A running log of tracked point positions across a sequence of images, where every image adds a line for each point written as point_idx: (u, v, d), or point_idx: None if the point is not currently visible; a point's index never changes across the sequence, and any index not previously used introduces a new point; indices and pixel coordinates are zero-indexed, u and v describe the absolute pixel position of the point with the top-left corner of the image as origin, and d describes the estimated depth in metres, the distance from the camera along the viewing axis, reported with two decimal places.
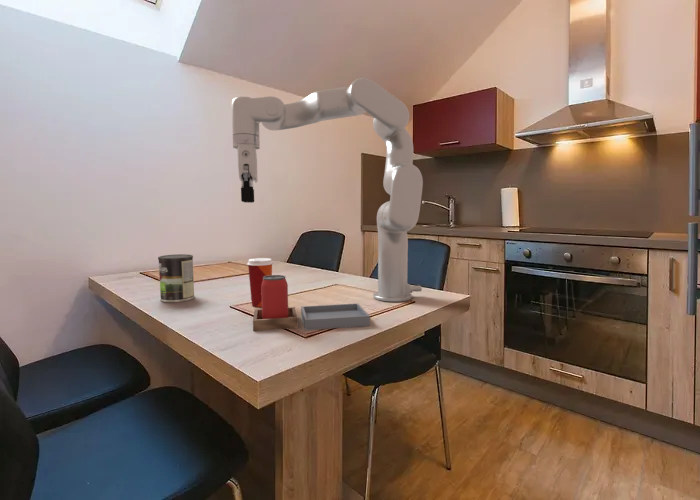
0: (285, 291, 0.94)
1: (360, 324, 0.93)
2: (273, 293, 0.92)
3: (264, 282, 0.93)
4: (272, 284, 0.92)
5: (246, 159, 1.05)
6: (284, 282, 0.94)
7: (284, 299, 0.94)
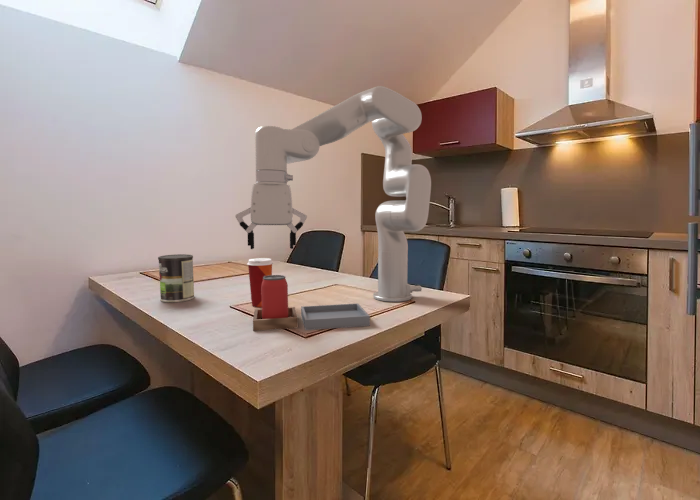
0: (285, 291, 0.94)
1: (360, 324, 0.93)
2: (273, 293, 0.92)
3: (264, 282, 0.93)
4: (272, 284, 0.92)
5: None
6: (284, 282, 0.94)
7: (284, 299, 0.94)
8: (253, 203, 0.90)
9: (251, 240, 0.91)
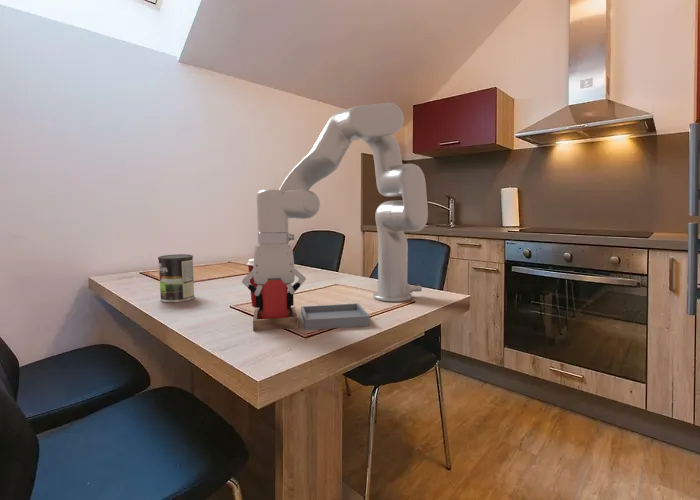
0: (285, 291, 0.94)
1: (360, 324, 0.93)
2: (273, 293, 0.92)
3: None
4: (272, 284, 0.92)
5: None
6: None
7: (284, 299, 0.94)
8: (255, 264, 0.92)
9: (259, 303, 0.93)
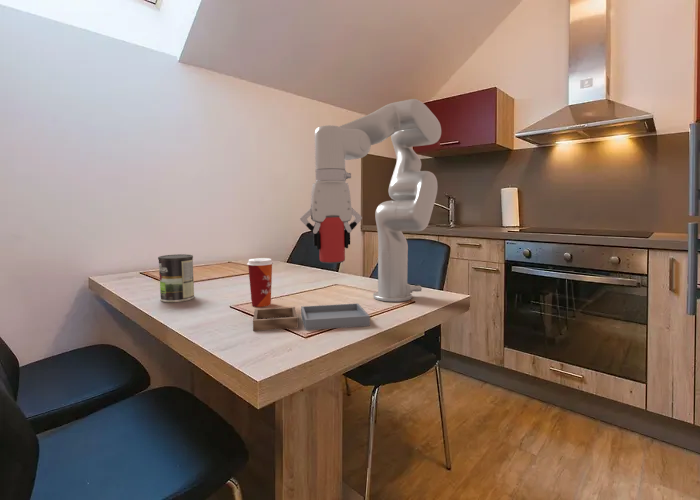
0: (342, 229, 0.94)
1: (360, 324, 0.93)
2: (331, 230, 0.93)
3: None
4: (330, 221, 0.93)
5: None
6: None
7: (342, 237, 0.94)
8: (314, 201, 0.92)
9: (318, 241, 0.94)
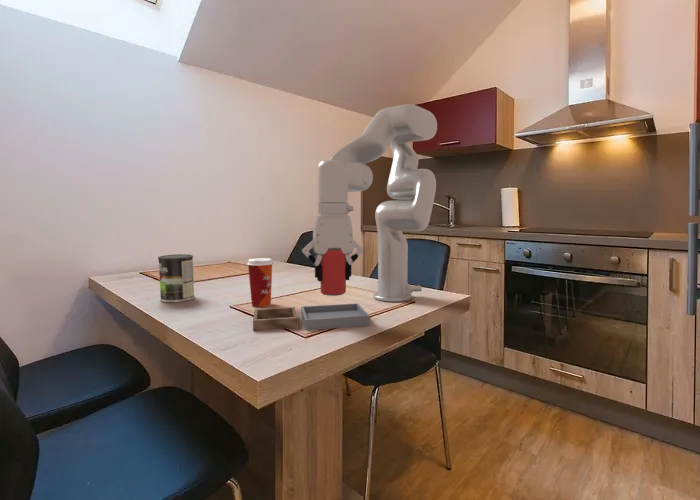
0: (344, 261, 0.95)
1: (360, 324, 0.93)
2: (333, 262, 0.93)
3: None
4: (332, 253, 0.93)
5: None
6: None
7: (343, 269, 0.95)
8: (317, 234, 0.93)
9: (319, 273, 0.94)
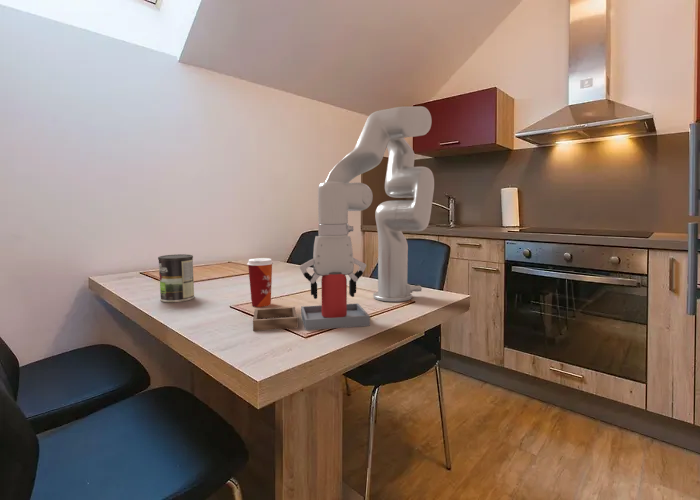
0: (345, 285, 0.96)
1: (360, 324, 0.93)
2: (334, 286, 0.94)
3: (325, 276, 0.95)
4: (333, 278, 0.94)
5: None
6: (344, 276, 0.96)
7: (344, 293, 0.96)
8: (317, 255, 0.94)
9: (315, 290, 0.95)
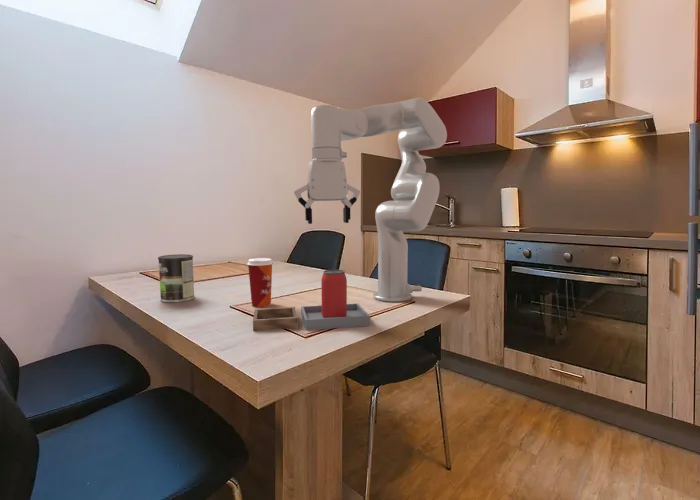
0: (345, 285, 0.96)
1: (360, 324, 0.93)
2: (334, 287, 0.94)
3: (325, 276, 0.95)
4: (333, 278, 0.94)
5: None
6: (344, 276, 0.96)
7: (344, 293, 0.96)
8: (311, 179, 0.94)
9: (310, 215, 0.96)
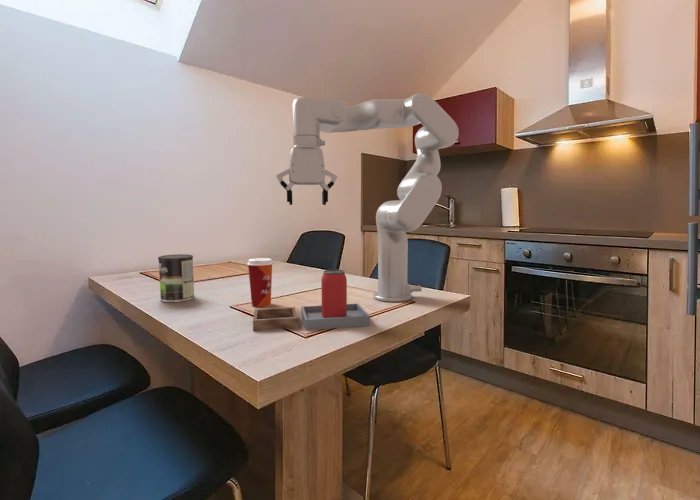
0: (345, 285, 0.96)
1: (360, 324, 0.93)
2: (334, 286, 0.94)
3: (325, 276, 0.95)
4: (333, 278, 0.94)
5: None
6: (344, 276, 0.96)
7: (344, 293, 0.96)
8: (292, 164, 1.05)
9: (290, 196, 1.06)
